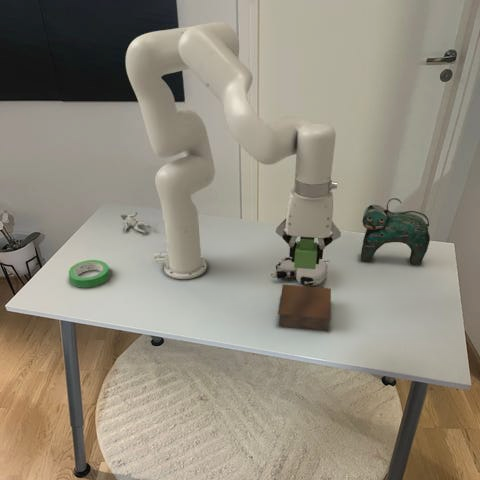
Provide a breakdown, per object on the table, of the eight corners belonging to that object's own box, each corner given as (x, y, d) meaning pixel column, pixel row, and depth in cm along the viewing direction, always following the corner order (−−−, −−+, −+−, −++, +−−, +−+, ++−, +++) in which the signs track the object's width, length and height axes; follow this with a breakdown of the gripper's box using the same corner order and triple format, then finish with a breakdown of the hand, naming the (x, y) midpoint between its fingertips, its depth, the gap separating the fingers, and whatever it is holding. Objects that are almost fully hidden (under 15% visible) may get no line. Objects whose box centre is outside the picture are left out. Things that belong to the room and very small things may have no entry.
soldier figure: (138, 240, 153) (111, 222, 155) (144, 243, 157) (117, 226, 160) (151, 220, 152) (123, 202, 155) (156, 224, 157) (129, 207, 159)
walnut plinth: (277, 327, 115) (278, 312, 113) (281, 298, 125) (282, 284, 122) (328, 332, 114) (330, 317, 111) (328, 302, 124) (330, 288, 121)
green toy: (293, 267, 108) (295, 240, 104) (295, 257, 112) (297, 230, 108) (315, 269, 108) (318, 242, 103) (316, 258, 112) (318, 231, 107)
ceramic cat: (355, 262, 139) (366, 200, 127) (355, 252, 144) (365, 190, 132) (423, 268, 137) (442, 205, 124) (420, 257, 142) (438, 195, 129)
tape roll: (109, 265, 139) (107, 257, 137) (110, 285, 130) (108, 277, 129) (71, 269, 137) (69, 262, 135) (69, 290, 128) (67, 282, 127)
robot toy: (268, 285, 131) (320, 294, 126) (268, 271, 129) (320, 280, 123) (282, 264, 140) (331, 272, 135) (282, 251, 137) (332, 258, 132)
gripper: (352, 182, 100) (341, 255, 111) (274, 178, 102) (271, 250, 114) (353, 195, 94) (342, 271, 106) (270, 191, 97) (267, 266, 108)
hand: (305, 259), depth 109 cm, fingers closed on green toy, 5 cm apart
